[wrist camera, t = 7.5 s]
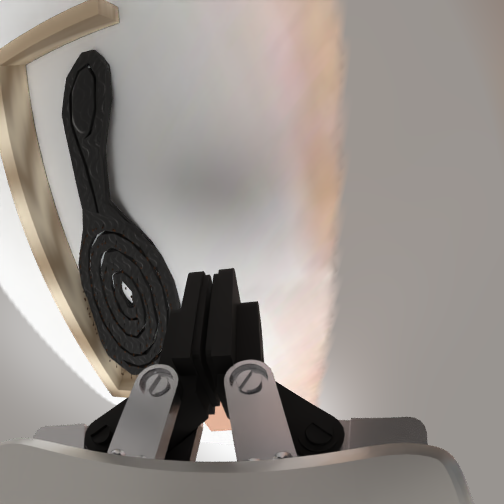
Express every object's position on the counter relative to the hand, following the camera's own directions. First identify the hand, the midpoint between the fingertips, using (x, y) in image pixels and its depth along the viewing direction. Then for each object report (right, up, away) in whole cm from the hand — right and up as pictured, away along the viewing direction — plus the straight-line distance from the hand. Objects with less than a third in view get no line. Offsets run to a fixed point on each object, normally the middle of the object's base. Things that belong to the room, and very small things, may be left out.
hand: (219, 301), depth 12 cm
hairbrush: (-9, +4, +9) cm, 13 cm away
